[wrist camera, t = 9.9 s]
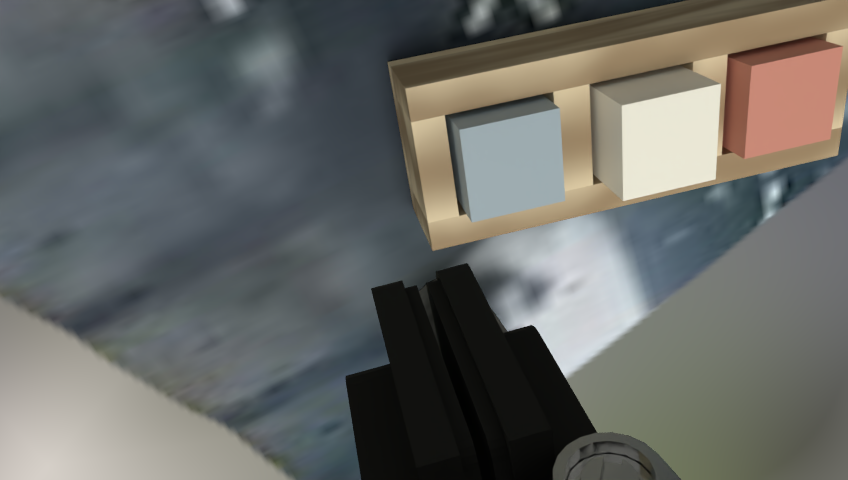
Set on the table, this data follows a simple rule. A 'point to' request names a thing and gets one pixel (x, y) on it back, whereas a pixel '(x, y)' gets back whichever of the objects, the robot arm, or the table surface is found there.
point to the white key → (654, 131)
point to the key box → (569, 89)
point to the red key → (780, 96)
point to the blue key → (507, 157)
